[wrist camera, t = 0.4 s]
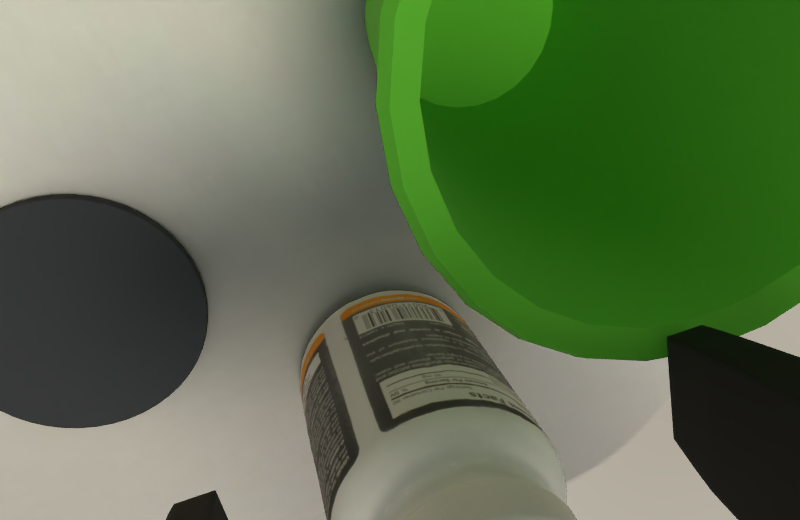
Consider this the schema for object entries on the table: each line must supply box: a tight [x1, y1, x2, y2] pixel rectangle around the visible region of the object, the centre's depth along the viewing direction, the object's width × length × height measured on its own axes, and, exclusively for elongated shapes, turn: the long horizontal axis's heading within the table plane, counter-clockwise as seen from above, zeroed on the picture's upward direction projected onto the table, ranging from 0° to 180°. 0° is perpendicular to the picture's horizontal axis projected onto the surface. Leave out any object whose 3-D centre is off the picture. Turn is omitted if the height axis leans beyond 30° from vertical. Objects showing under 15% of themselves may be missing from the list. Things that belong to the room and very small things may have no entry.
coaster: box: [0, 195, 208, 428], centre depth 20 cm, size 7×7×1 cm
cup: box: [365, 0, 800, 361], centre depth 15 cm, size 9×9×11 cm
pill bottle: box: [300, 290, 577, 520], centre depth 19 cm, size 6×6×10 cm
